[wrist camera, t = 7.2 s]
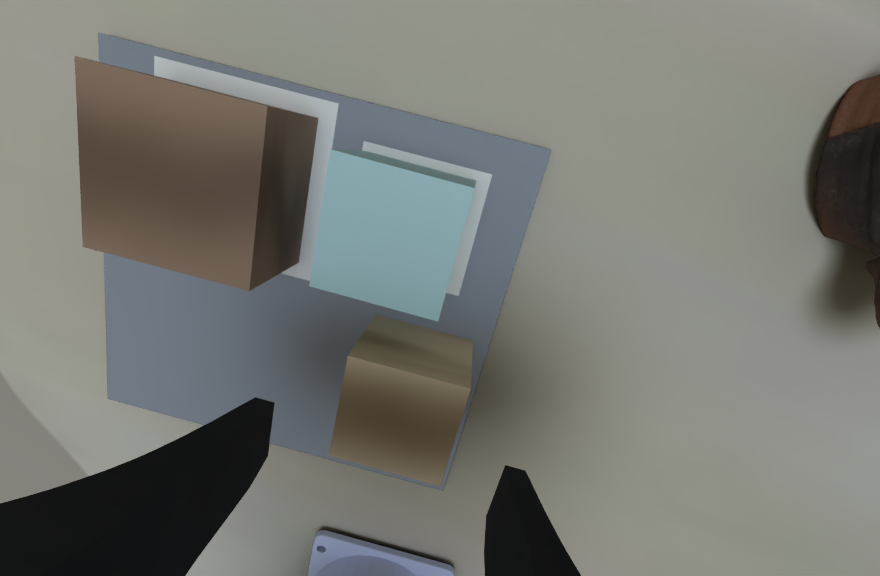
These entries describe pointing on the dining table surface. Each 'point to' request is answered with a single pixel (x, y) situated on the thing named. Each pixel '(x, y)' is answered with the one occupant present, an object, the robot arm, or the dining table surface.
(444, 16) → the dining table surface
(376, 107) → the blueprint mat
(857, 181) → the pottery mug
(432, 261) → the teal block
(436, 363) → the oak block
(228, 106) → the walnut base
